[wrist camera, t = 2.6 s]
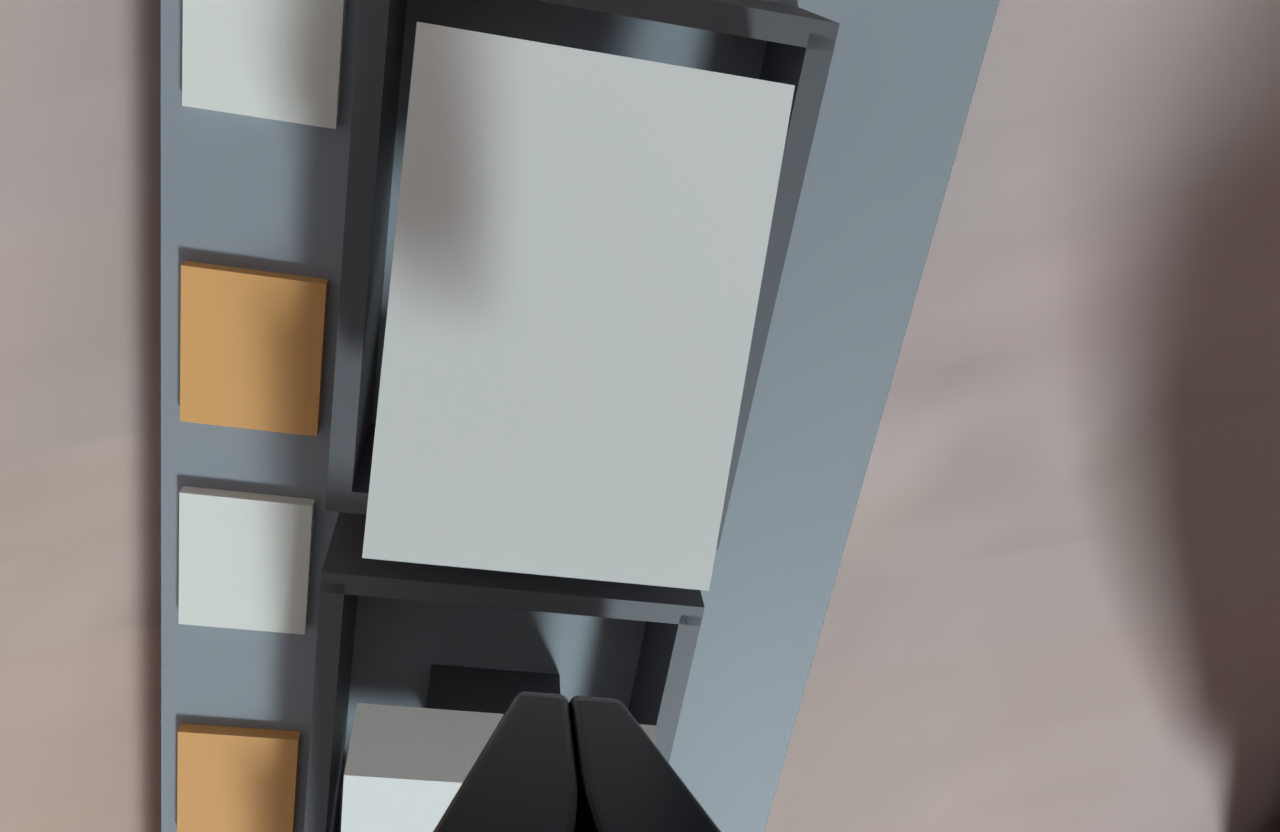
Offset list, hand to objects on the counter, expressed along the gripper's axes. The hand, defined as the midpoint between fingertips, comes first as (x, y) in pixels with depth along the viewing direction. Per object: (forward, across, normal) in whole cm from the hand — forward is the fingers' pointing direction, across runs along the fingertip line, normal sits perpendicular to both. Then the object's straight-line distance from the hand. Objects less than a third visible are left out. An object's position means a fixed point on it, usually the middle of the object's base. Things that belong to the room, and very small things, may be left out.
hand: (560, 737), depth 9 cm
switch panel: (+9, 0, +5) cm, 11 cm away
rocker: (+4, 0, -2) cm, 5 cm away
